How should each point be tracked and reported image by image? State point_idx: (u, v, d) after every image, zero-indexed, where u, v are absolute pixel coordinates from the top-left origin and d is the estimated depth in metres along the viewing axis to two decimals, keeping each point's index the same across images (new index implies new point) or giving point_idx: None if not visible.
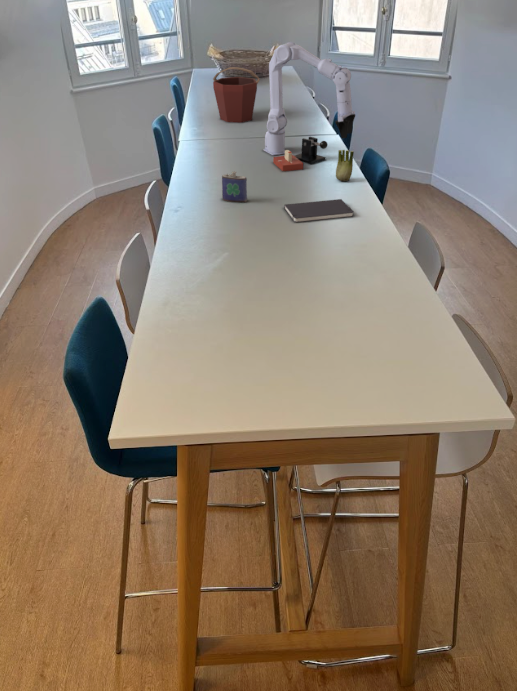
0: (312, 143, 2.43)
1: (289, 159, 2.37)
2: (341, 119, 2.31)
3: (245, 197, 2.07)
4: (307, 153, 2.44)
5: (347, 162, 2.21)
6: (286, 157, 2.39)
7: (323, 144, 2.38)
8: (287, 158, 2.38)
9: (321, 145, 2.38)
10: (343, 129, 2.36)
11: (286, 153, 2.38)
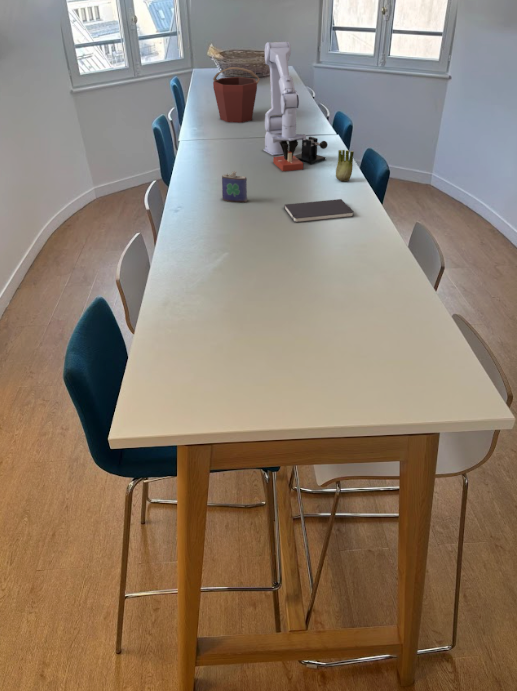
0: (312, 143, 2.43)
1: (289, 159, 2.37)
2: (272, 140, 2.33)
3: (245, 197, 2.07)
4: (307, 153, 2.44)
5: (347, 162, 2.21)
6: None
7: (323, 144, 2.38)
8: None
9: (321, 145, 2.38)
10: None
11: None
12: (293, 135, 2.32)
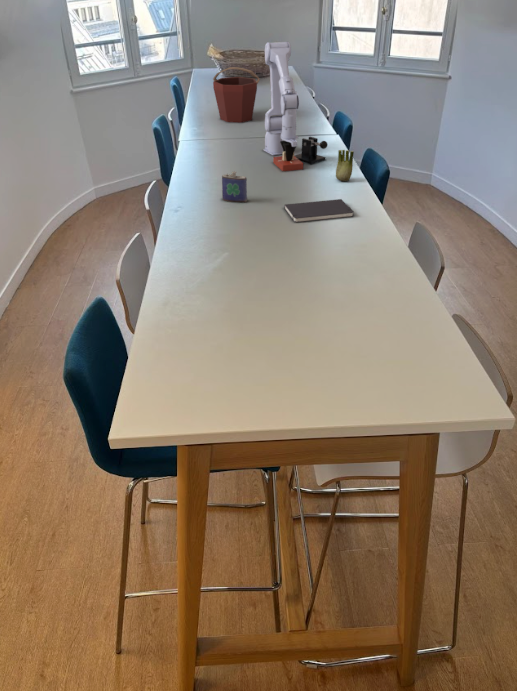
0: (312, 143, 2.43)
1: None
2: (295, 144, 2.29)
3: (245, 197, 2.07)
4: (307, 153, 2.44)
5: (347, 162, 2.21)
6: None
7: (323, 144, 2.38)
8: None
9: (321, 145, 2.38)
10: (289, 151, 2.36)
11: None
12: None
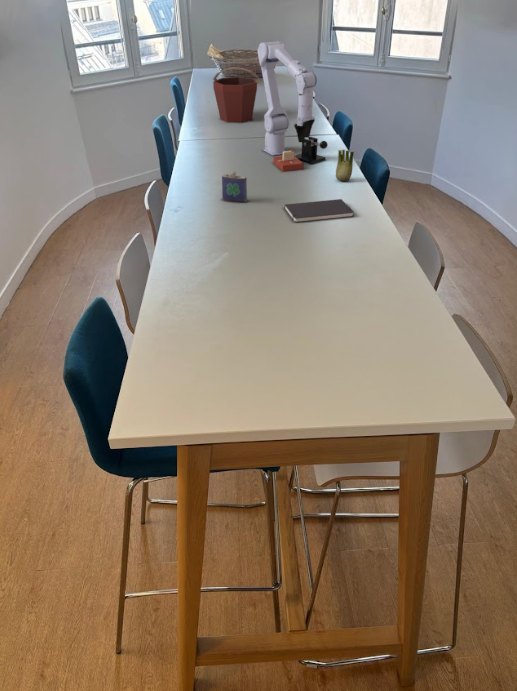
0: (312, 143, 2.43)
1: None
2: (300, 123, 2.28)
3: (245, 197, 2.07)
4: (307, 153, 2.44)
5: (347, 162, 2.21)
6: (288, 157, 2.38)
7: (323, 144, 2.38)
8: (291, 157, 2.39)
9: (321, 145, 2.38)
10: (301, 133, 2.33)
11: (288, 154, 2.38)
12: (311, 114, 2.32)
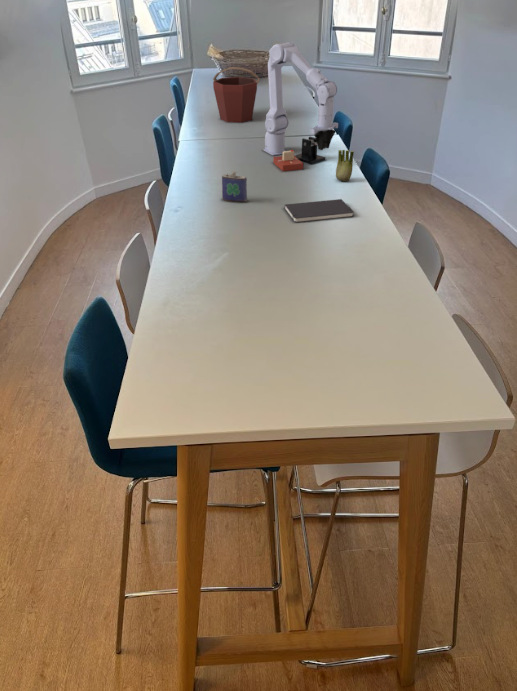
0: (312, 143, 2.43)
1: None
2: (313, 132, 2.31)
3: (245, 197, 2.07)
4: (307, 153, 2.44)
5: (347, 162, 2.21)
6: (288, 157, 2.38)
7: None
8: (291, 157, 2.39)
9: None
10: (320, 140, 2.37)
11: (288, 154, 2.38)
12: (331, 124, 2.33)
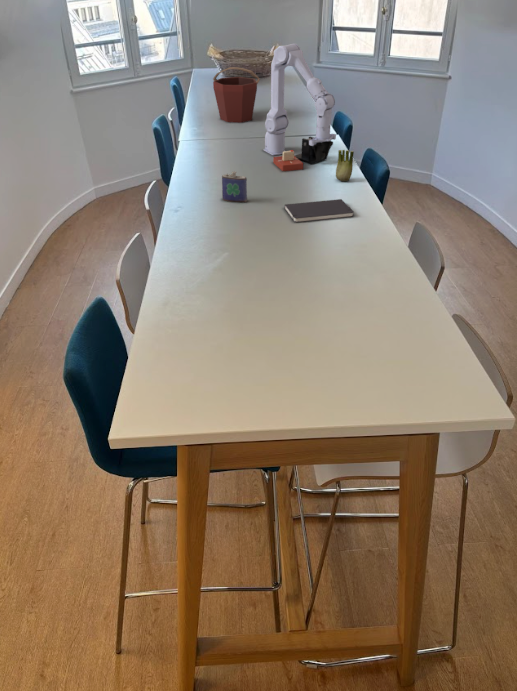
0: None
1: None
2: (311, 143, 2.34)
3: (245, 197, 2.07)
4: (307, 153, 2.44)
5: (347, 162, 2.21)
6: (288, 157, 2.38)
7: None
8: (291, 157, 2.39)
9: None
10: (318, 151, 2.40)
11: (288, 154, 2.38)
12: (329, 135, 2.36)
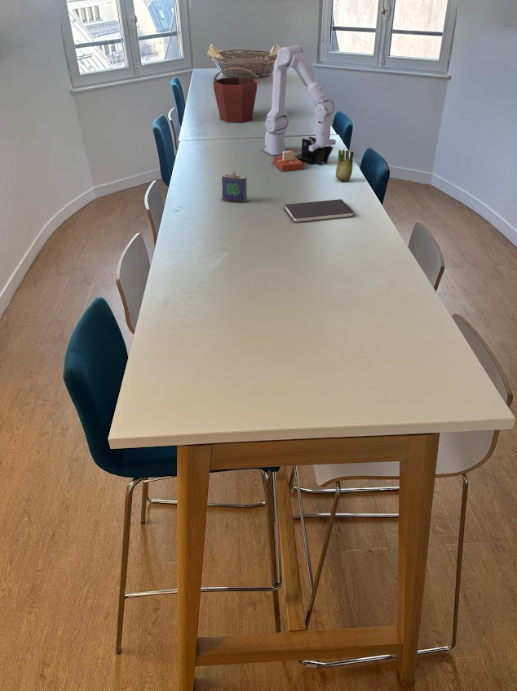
0: None
1: None
2: (311, 149, 2.35)
3: (245, 197, 2.07)
4: (307, 153, 2.44)
5: (347, 162, 2.21)
6: (288, 157, 2.38)
7: None
8: (291, 157, 2.39)
9: None
10: (318, 157, 2.41)
11: (288, 154, 2.38)
12: (329, 141, 2.38)
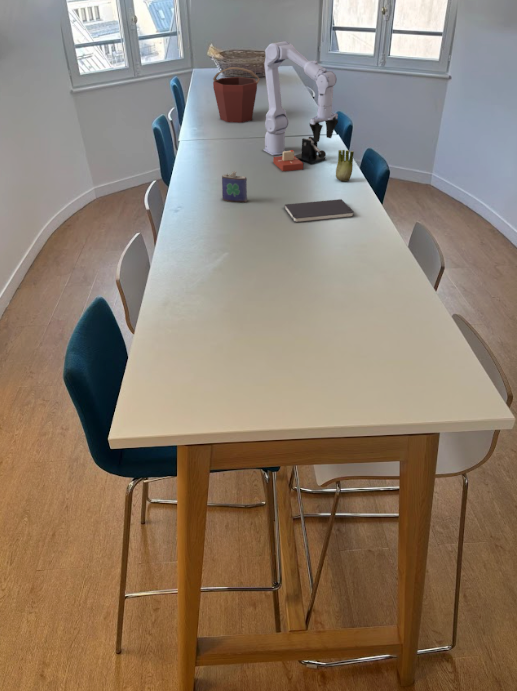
0: (312, 146, 2.43)
1: None
2: (312, 122, 2.29)
3: (245, 197, 2.07)
4: (307, 153, 2.44)
5: (347, 162, 2.21)
6: (288, 157, 2.38)
7: (321, 155, 2.41)
8: (291, 157, 2.39)
9: (319, 155, 2.41)
10: (316, 132, 2.34)
11: (288, 154, 2.38)
12: (330, 114, 2.32)
